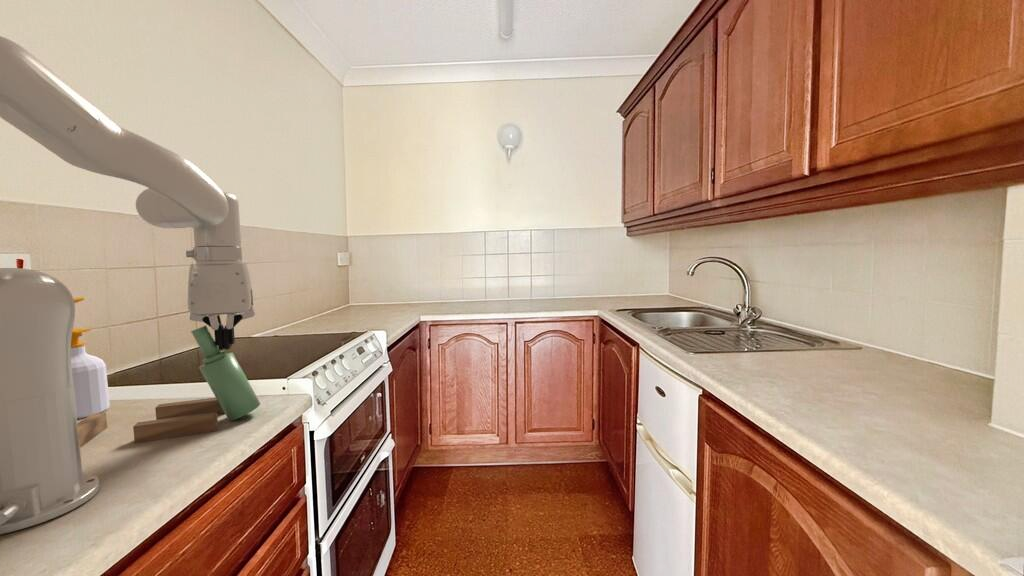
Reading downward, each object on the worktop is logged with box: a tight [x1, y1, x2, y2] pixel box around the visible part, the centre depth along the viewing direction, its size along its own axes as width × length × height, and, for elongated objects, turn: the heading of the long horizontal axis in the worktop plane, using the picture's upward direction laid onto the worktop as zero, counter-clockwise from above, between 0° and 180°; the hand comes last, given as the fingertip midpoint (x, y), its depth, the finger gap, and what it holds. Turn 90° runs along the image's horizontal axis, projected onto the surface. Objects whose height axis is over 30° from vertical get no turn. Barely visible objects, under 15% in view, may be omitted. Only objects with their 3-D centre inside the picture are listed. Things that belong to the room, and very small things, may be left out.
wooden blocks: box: [77, 396, 225, 449], centre depth 80 cm, size 12×22×3 cm, turn 113°
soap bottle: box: [71, 297, 111, 420], centre depth 88 cm, size 9×9×25 cm
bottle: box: [190, 325, 261, 421], centre depth 84 cm, size 6×6×19 cm
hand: (225, 348), depth 84 cm, fingers closed
